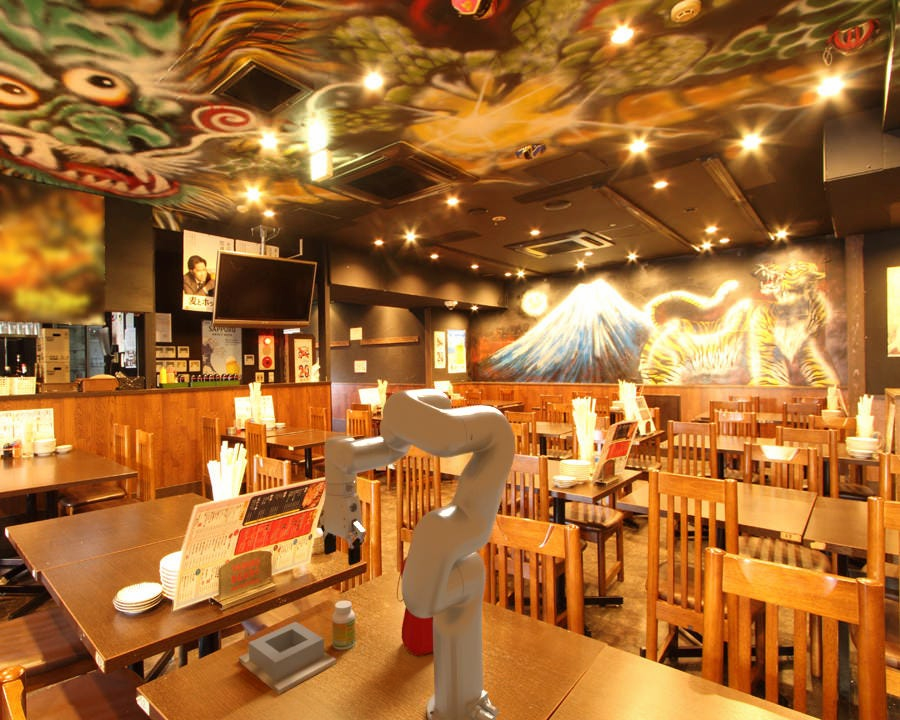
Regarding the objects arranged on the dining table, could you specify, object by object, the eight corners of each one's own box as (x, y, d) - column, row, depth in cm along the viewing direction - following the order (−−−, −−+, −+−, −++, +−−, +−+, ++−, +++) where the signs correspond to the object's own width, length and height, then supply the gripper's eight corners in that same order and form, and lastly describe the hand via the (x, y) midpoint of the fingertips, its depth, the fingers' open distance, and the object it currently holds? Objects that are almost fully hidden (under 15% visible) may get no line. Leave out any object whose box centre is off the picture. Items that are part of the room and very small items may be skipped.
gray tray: (335, 663, 115) (335, 658, 115) (279, 694, 105) (279, 689, 105) (293, 635, 127) (293, 631, 127) (238, 661, 117) (238, 657, 117)
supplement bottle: (350, 651, 120) (349, 610, 120) (329, 649, 121) (328, 608, 121) (358, 639, 125) (357, 599, 125) (338, 637, 126) (337, 598, 126)
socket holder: (324, 656, 116) (323, 638, 116) (276, 681, 108) (275, 662, 108) (296, 637, 125) (295, 621, 125) (249, 660, 116) (248, 642, 116)
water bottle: (391, 643, 123) (389, 540, 123) (432, 631, 128) (430, 532, 128) (406, 663, 115) (403, 553, 115) (449, 649, 120) (446, 543, 120)
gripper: (376, 490, 120) (377, 562, 120) (333, 479, 131) (334, 545, 132) (350, 497, 114) (351, 573, 114) (307, 485, 126) (308, 553, 126)
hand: (342, 558), depth 123 cm, fingers open, 9 cm apart
